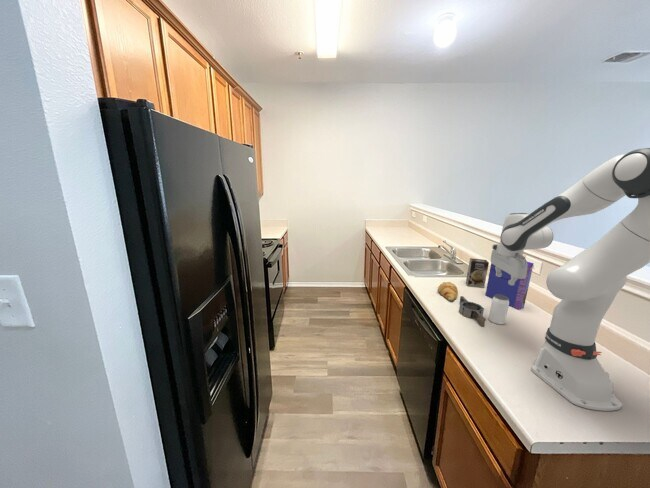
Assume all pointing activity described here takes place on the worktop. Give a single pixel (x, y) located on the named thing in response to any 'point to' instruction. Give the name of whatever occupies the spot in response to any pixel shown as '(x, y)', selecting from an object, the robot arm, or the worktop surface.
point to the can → (499, 309)
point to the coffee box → (477, 273)
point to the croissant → (448, 290)
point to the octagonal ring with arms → (477, 316)
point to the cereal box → (509, 286)
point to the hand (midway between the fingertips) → (504, 280)
